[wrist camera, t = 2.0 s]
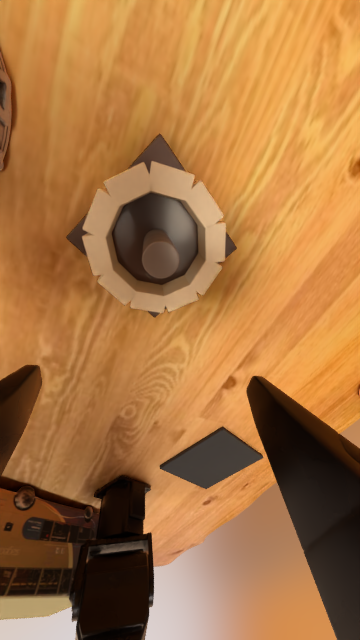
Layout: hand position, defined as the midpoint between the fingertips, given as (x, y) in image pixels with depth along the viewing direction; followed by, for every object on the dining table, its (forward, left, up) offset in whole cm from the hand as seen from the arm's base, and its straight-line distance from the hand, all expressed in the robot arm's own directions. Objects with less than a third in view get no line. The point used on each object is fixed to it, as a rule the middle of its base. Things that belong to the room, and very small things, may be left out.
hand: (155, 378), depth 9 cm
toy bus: (-38, -13, -11) cm, 42 cm away
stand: (+3, +2, -11) cm, 11 cm away
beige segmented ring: (+3, +2, -10) cm, 11 cm away
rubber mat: (-13, -28, -11) cm, 32 cm away
